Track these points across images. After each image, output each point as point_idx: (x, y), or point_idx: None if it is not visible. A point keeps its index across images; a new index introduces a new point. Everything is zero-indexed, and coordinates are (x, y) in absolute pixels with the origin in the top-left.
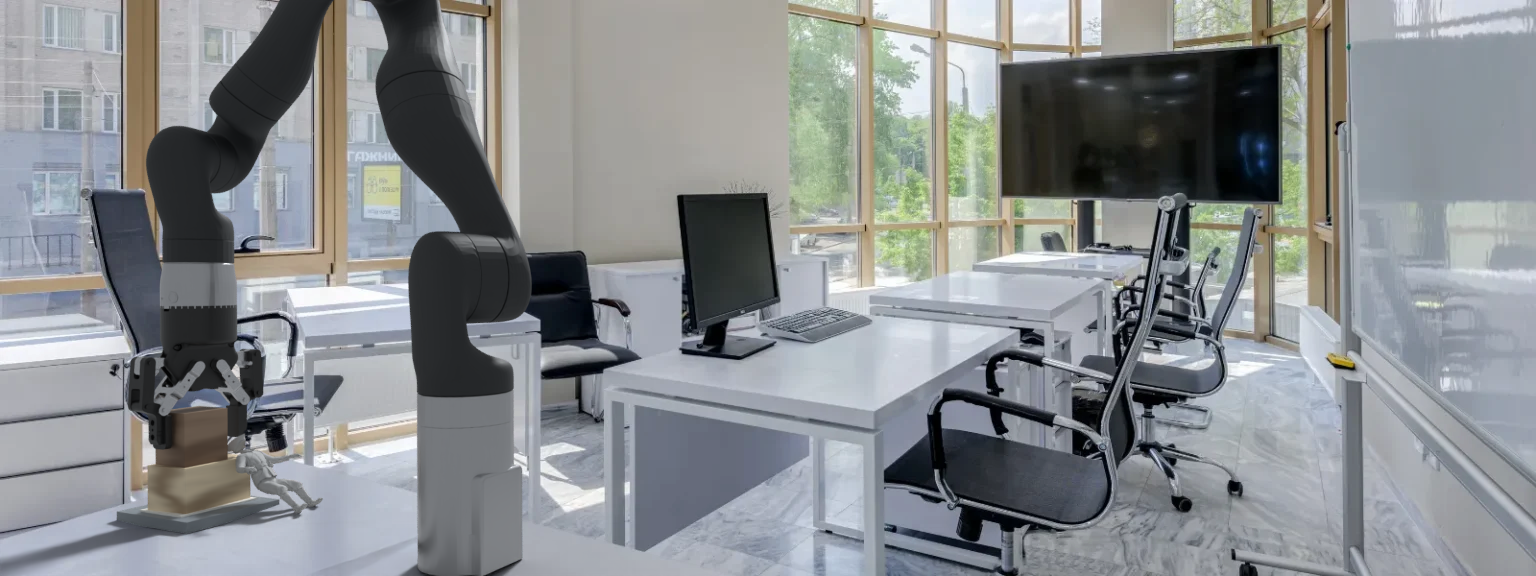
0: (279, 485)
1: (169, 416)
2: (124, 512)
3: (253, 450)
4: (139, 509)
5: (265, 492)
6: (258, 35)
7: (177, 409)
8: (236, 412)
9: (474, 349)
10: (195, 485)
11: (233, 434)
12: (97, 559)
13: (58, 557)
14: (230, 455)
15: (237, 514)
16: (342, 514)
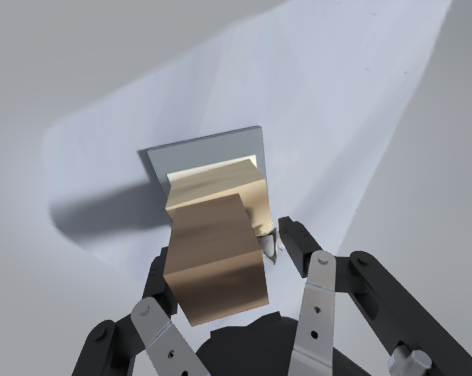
0: (262, 256)
1: (172, 314)
2: (153, 163)
3: (278, 241)
4: (169, 162)
5: None
6: None
7: (208, 272)
8: (296, 265)
9: None
10: None
11: (280, 231)
12: (115, 259)
13: (88, 237)
14: (264, 216)
15: None
16: (280, 258)
